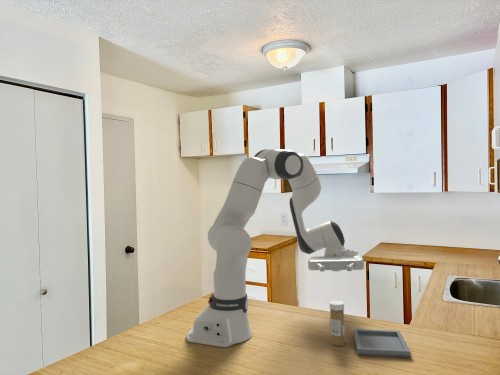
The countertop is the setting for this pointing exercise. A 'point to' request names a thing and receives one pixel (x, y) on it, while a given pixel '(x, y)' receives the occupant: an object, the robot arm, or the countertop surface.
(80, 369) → the countertop surface
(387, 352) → the tray
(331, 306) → the sprinkles bottle
